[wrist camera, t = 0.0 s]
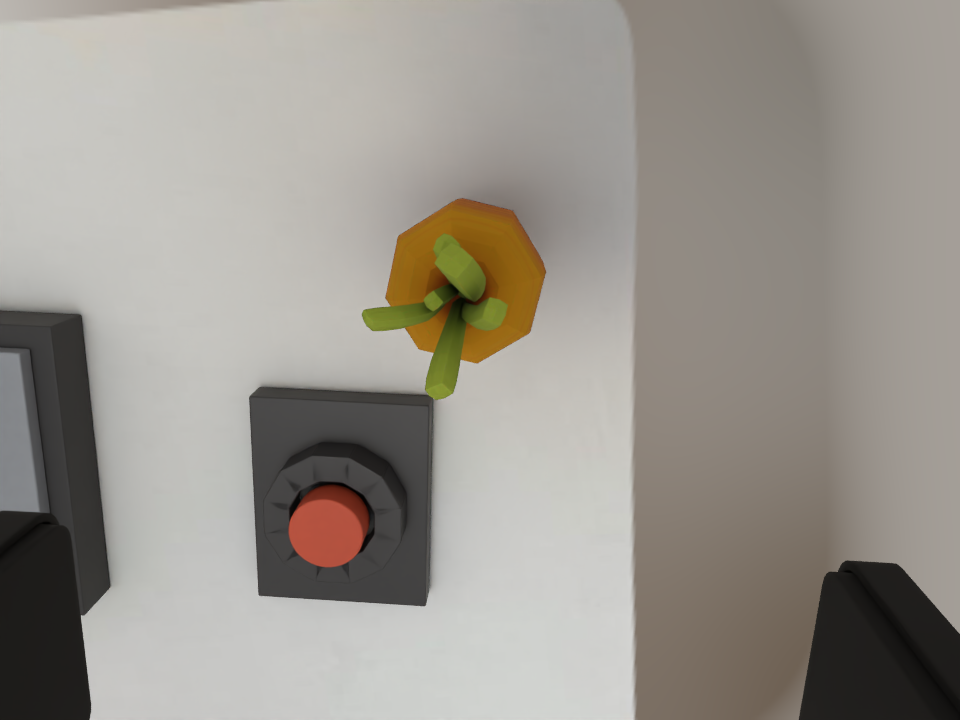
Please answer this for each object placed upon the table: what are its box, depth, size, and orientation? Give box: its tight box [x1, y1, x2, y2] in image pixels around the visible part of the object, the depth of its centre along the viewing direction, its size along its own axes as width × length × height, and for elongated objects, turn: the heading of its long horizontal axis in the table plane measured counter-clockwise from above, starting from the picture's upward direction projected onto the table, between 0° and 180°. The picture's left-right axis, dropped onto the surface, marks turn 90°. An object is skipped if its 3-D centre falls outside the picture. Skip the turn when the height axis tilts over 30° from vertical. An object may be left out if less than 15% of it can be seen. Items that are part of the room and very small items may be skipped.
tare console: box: [249, 387, 433, 606], centre depth 36 cm, size 10×8×3 cm
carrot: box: [362, 198, 546, 400], centre depth 26 cm, size 5×5×15 cm
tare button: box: [289, 485, 370, 567], centre depth 34 cm, size 3×3×2 cm
